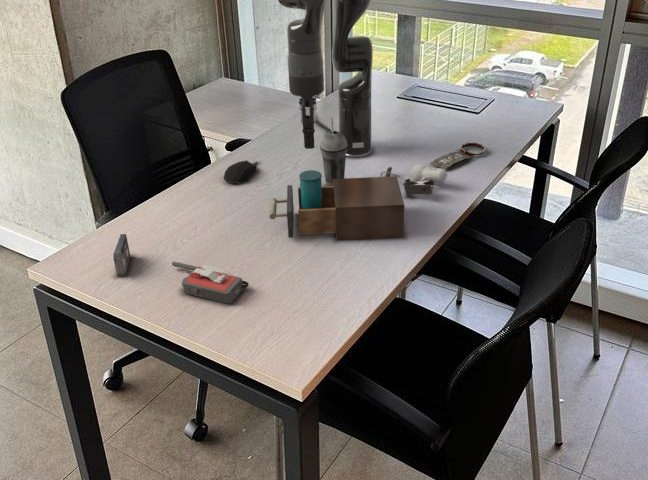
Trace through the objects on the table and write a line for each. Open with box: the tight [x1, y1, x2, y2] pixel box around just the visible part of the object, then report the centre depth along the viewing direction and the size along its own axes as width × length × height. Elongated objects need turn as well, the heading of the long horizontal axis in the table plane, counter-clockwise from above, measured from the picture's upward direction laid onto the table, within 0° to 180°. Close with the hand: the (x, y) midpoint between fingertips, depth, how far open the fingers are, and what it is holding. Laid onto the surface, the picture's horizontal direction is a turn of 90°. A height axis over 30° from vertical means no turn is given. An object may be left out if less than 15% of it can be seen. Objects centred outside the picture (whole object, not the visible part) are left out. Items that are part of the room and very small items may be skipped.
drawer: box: [268, 184, 336, 239], centre depth 175 cm, size 19×14×7 cm
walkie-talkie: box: [171, 261, 249, 304], centre depth 155 cm, size 9×4×20 cm
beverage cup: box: [319, 116, 348, 186], centre depth 189 cm, size 7×7×20 cm
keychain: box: [430, 141, 487, 170], centre depth 207 cm, size 8×19×2 cm, turn 131°
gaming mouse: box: [223, 160, 258, 184], centre depth 202 cm, size 6×15×4 cm, turn 155°
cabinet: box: [333, 175, 405, 241], centre depth 175 cm, size 16×15×9 cm
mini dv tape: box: [112, 233, 131, 277], centre depth 162 cm, size 8×2×6 cm, turn 4°
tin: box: [298, 169, 323, 209], centre depth 173 cm, size 5×5×12 cm
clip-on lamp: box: [380, 163, 448, 198], centre depth 192 cm, size 12×6×18 cm
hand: (309, 140), depth 165 cm, fingers open, 8 cm apart
